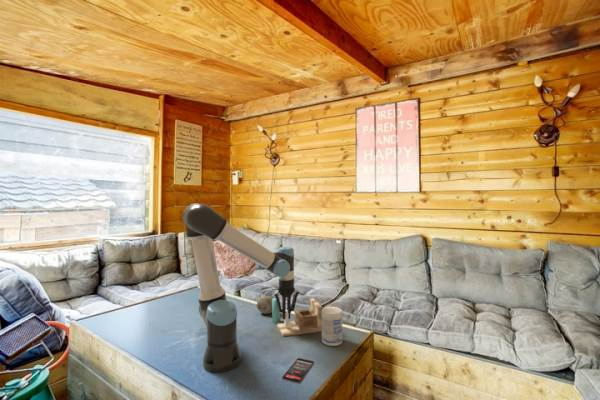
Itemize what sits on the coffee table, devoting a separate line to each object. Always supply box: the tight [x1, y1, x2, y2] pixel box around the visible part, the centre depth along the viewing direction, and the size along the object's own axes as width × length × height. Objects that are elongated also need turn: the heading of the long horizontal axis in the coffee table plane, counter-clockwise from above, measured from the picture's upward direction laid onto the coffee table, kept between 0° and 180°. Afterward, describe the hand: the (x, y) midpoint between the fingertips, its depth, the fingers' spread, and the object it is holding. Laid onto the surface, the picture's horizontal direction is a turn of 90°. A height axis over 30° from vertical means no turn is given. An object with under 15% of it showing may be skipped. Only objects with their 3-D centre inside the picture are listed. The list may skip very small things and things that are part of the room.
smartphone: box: [281, 357, 315, 384], centre depth 117 cm, size 7×1×15 cm
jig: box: [276, 297, 323, 338], centre depth 154 cm, size 13×20×12 cm, turn 107°
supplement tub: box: [321, 306, 343, 347], centre depth 139 cm, size 10×10×15 cm
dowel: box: [271, 297, 281, 324], centre depth 161 cm, size 4×4×12 cm
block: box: [294, 308, 317, 330], centre depth 155 cm, size 9×9×6 cm
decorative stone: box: [256, 295, 273, 315], centre depth 173 cm, size 10×8×10 cm
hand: (286, 325), depth 152 cm, fingers closed
